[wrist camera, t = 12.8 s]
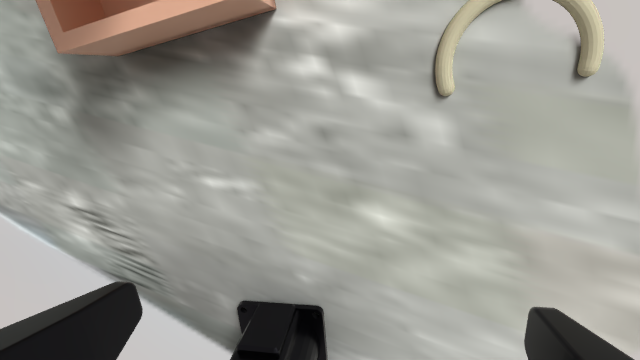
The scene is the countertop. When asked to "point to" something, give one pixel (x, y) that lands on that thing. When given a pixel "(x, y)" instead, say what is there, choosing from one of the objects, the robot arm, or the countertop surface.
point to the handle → (574, 3)
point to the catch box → (136, 22)
